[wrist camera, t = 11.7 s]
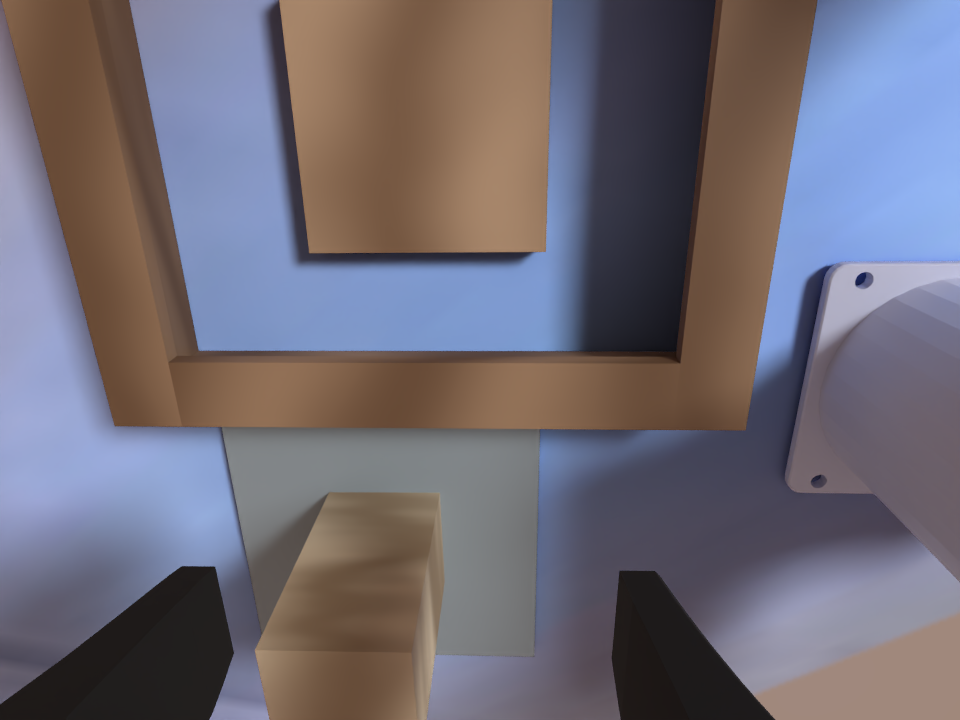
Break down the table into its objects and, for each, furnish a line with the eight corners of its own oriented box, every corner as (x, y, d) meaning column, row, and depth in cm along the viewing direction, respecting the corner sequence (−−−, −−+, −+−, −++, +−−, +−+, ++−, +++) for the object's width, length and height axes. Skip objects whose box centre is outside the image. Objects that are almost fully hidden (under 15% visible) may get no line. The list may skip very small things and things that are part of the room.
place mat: (539, 406, 21) (540, 411, 20) (533, 648, 25) (534, 656, 25) (223, 404, 21) (218, 409, 21) (268, 643, 25) (264, 650, 25)
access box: (792, -248, 14) (877, -356, 11) (707, 379, 20) (745, 430, 17) (45, -219, 15) (-82, -311, 12) (175, 377, 21) (114, 426, 18)
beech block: (439, 492, 22) (411, 652, 15) (444, 581, 23) (420, 761, 17) (329, 492, 22) (254, 649, 15) (341, 580, 23) (277, 758, 17)
